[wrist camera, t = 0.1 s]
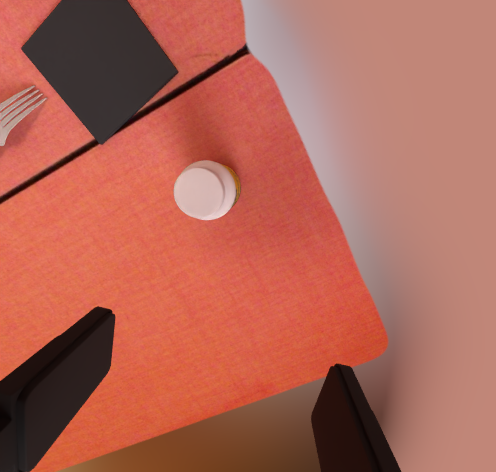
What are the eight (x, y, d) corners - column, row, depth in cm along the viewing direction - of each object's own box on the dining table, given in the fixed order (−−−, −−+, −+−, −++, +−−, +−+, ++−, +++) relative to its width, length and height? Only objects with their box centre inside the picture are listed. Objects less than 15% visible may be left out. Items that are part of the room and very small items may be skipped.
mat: (99, -38, 23) (96, -42, 23) (178, 72, 25) (177, 70, 25) (24, 50, 25) (20, 48, 25) (102, 144, 27) (99, 144, 27)
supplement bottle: (242, 209, 28) (232, 227, 19) (198, 210, 29) (166, 227, 19) (241, 163, 27) (230, 157, 18) (194, 164, 27) (159, 158, 18)
